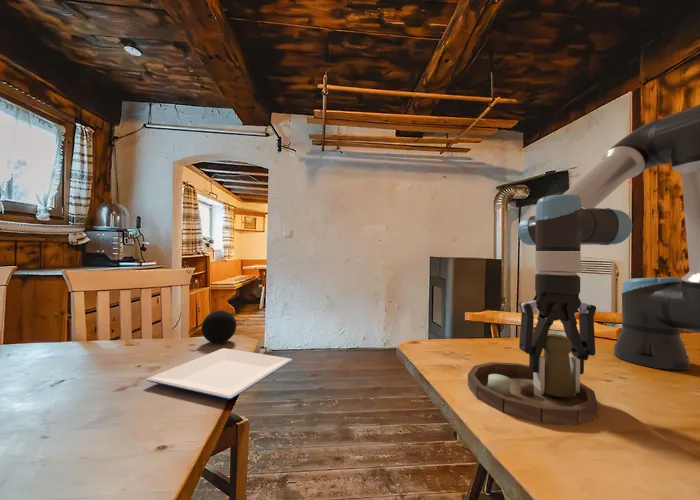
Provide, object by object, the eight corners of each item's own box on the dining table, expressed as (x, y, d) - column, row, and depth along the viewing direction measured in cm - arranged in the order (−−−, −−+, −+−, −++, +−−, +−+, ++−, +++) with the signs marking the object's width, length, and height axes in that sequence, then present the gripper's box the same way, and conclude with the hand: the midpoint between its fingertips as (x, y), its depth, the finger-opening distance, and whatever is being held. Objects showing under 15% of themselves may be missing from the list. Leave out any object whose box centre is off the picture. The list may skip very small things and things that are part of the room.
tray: (551, 378, 72) (552, 364, 72) (631, 434, 50) (631, 413, 50) (456, 374, 73) (456, 360, 74) (492, 427, 52) (492, 406, 52)
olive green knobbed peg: (580, 398, 58) (581, 340, 58) (545, 395, 59) (546, 338, 59) (565, 385, 64) (565, 332, 64) (533, 382, 65) (533, 330, 65)
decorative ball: (197, 348, 90) (197, 314, 90) (206, 338, 100) (206, 308, 100) (233, 346, 92) (233, 313, 92) (238, 337, 102) (238, 307, 102)
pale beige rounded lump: (504, 388, 64) (504, 374, 64) (513, 397, 60) (513, 382, 60) (485, 387, 64) (485, 373, 64) (492, 396, 60) (492, 381, 60)
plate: (145, 388, 65) (145, 378, 65) (223, 354, 86) (223, 347, 86) (230, 408, 57) (230, 397, 57) (293, 366, 78) (293, 358, 78)
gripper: (593, 272, 65) (592, 382, 64) (500, 271, 66) (499, 379, 66) (622, 275, 57) (621, 400, 57) (517, 273, 58) (515, 395, 58)
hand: (555, 388), depth 61 cm, fingers closed on olive green knobbed peg, 6 cm apart
